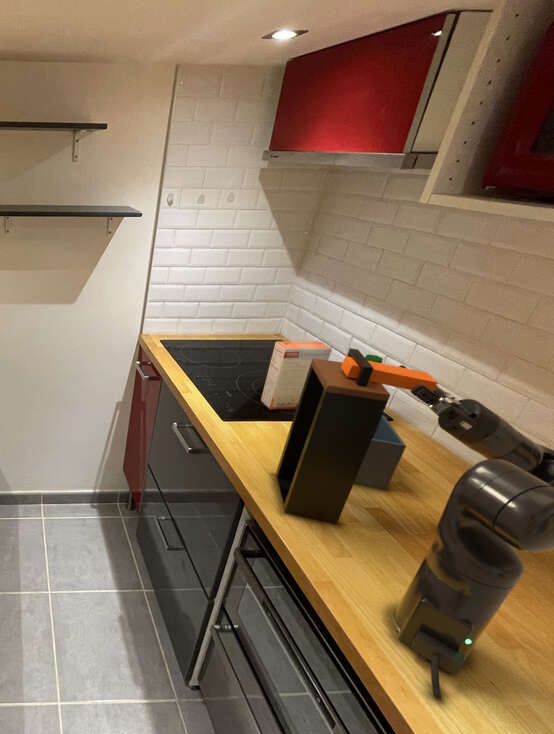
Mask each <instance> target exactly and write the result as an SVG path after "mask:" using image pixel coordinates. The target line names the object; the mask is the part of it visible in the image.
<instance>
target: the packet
mask: <svg viewBox="0 0 554 734" xmlns="http://www.w3.org/2000/svg"><path fill="white" fill-rule="evenodd" d="M342 362H343V363H342V365H341V369H342V370H343V372H344V373H345V374H346V376H347V377H351V378H356V379H357V377H358V375H359V372H360V369H361V368H360V367H359V366H358V365H357V363H356V362H355V361H354V359H353V358H352V357H348V356H347V355H345V357H344V359H343V361H342ZM368 362H369V363H370V364H371V366H372V367H373V371H372V374H371V376H370V379H369V381H370V382H375V383H380V384H382V385H383V386H384V385H385V386H389V387H394V388H399V389H404V390H409V391H411V389H413V388H414V387H416V386H417V385H419V384H422V385H424V386H425V387H427V388H428V389H429V390H431V391H432V392H433V390H434V388H435V387H436V385H437V386H438V383H439V382H438V381H437V380H436V379H434V377H432V375H431V374H430V373H428V372H425V371H421V370H416V369H413V368H412V369H411V368H408V367H406V368H402V367H399V366H396V365H391V364H386V363H383V362H382V363H377V362H372V361H368ZM407 368H408V369H407Z"/></svg>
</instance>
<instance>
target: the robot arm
mask: <svg viewBox="0 0 554 734" xmlns="http://www.w3.org/2000/svg"><path fill="white" fill-rule="evenodd" d="M398 367H402V368H407V369H409V368H408V367H406V366H405V365H403V364H400V365H399V366H398ZM410 393H411V394H412V395H413V396H415V397H416V399H417V398H418V399H419V400H420V401H422V402H423V403H424V404H426V405H427V406H428V408H429V410H431V411H432V412H433V413H434V414H435V415H436V416H437V417H438V418H437V424H438V426H439V428H440V429H441V430H443V431H444V432H446V433H447V434H448V435H450V436H451V437H453V438H454V439H455V440H458V441H459V442H460V443H462V444H463V445H464V446H466V447H467V448H468V449H470V450H472V451H474V452H476V453H477V454H479V455H481V456H483V457H484V458H485V459H483V460H481V461H478V462H476V463H475V464H473V465H472V466H470V467H468V468H467V470H465V471H464V472H463V474H462V475H461V476H460V477H459V479H457V481H456V483H455V484H454V486H453V488H452V490H451V492H450V495H449V496H448V499H447V501H446V504H445V506H444V508H443V511H442V513H441V516H440V518H439V519H438V522H437V523H436V527H435V534H436V535H435V538H434V540H433V542H432V544H431V546H430V547H429V549H428V551H427V553H426V555H425V556H424V558H423V560H422V562H421V564H420V565H419V567H418V569H417V571H416V572H415V574H414V576H413V578H412V580H411V581H410V583H409V585H408V587H407V589H406V591H405V592H404V594H403V596H402V598H401V600H400V602H399V604H398V606H397V607H396V608H395V610H394V611H393V613H392V617H391V619H392V620H391V621H392V624H393V626H394V628H395V630H396V632H397V633H398V636H397V639H398V640H399V641H401V642H402V643H404V644H406V645H407V646H408V647H410V649H411V650H413V651H415V652H416V653H417V654H419V655H421V656H422V657H424V658H426V659H427V660H429V661H431V663H430V679H431V687H432V695H433V697H434V698H437V699H441V698H442V693H441V685H440V668H441V669H443V670H444V671H446V672H448V673H450V674H451V675H453V676H455V677H456V676H457V675H458V673H459V672H460V670H461V669H462V667H463V666H464V662H465V661H466V659H467V658H468V656H469V653H470V652H471V651H472V649H473V648H474V646H475V645H476V643H477V642H478V640H479V638H480V637H481V635H482V634H483V633H484V632H485V630H486V628H487V627H488V626H489V624H490V622H491V621H492V620H493V618H494V617H495V615H496V614H497V613H498V611H499V610H500V608H501V607H502V605H503V604H504V602H505V601H506V600H507V598H508V597H509V596H510V594H511V592H512V591H513V590H514V588H515V587H516V585H517V584H518V583H519V581H520V579H521V578H522V576H523V575H524V572H525V566H524V561H523V560H522V558H521V557H520V555H519V554H518V552H517V551H516V550H515V549H517V550H519V551H521V552H526V553H541V552H545V551H546V552H547V551H551V550H553V549H554V449H552V448H550V447H547V446H545V445H543V444H540V443H537V442H534V441H533V440H532V439H530V438H529V437H527V436H526V435H524V434H523V433H521V432H520V431H519V430H517V429H516V428H515V427H514V426H513V425H512V424H511V423H509V422H508V421H507V420H506V419H504V418H503V417H502V416H499V415H498V414H497V413H495V412H494V411H492V410H491V409H489V408H488V407H487V406H486V405H484V404H482V403H481V402H479V401H478V400H476V399H472V398H463V399H459V400H457V399H456V397H455V396H454V395H453V394H451V393H450V392H448V391H445V390H444V389H443V388H441V387H440V386H439V385H438V384H437V385H436V387H435V388H434V390H433V392H432V391H431V390H429V389H428V388H427V387H425V386H424V385H422V384H419V385H417V386H416V387H414V388H413V389H411V390H410ZM514 548H515V549H514Z"/></svg>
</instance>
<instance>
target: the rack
mask: <svg viewBox="0 0 554 734" xmlns="http://www.w3.org/2000/svg"><path fill="white" fill-rule="evenodd" d="M346 356H348V357H352V358H353V359H354V361H355V362H356V363H357V365H358V366H359V367H360V368H361V369H360V372H359V375H358V377H357V379H356V378H351V377H347V376H346V374H345V373H344V372H343V370H342V369H341V365H342V363H343V361H335V360H329V359H328V360H322V359H314V358H313V359H312V362H311V365H310V368H309V371H308V374H307V377H306V381H305V384H304V387H303V390H302V393H301V396H300V399H299V402H298V406H297V409H295V412H294V415H293V418H292V421H291V424H290V428H289V432H288V434H287V436H286V437H287V438H286V441H285V444H284V447H283V449H282V452H281V456H280V459H279V462H278V465H277V469H276V471H275V475H274V477H275V481H276V485H277V489H278V493H279V496H280V501H281V505H282V509H283V512H284V513H285V514H288V515H292V516H293V515H294V516H298V517H300V518H301V517H302V518H307V519H310V520H315V521H318V522H323V523H327V524H332V525H338V522H339V521H340V517H341V515H342V513H343V511H344V508H345V505H346V503H347V501H348V498H349V495H350V494H351V491H352V489H353V486H354V484H355V483H354V481H355V479H356V477H357V474H358V472H359V469H360V467H361V465H362V462H363V460H364V457H365V455H366V453H367V450H368V448H369V445H370V443H371V441H372V438H373V436H374V433H375V431H376V429H377V426H378V424H379V421H380V419H381V416H383V414H384V411H385V409H386V406H387V404H388V402H389V400H390V397H391V393H390V392H389V391H388V390H387V388H386V387H385V386H384V384H380V383H375V382H370V381H369V379H370V376H371V374H372V371H373V367H372V366H371V364H370V363H369V362H368V361H367V360H366V358H365V357H366V356H364V355H363V354H362V353H361V351H360V350H359V349H358V348H349V349H348V351H347V354H346Z"/></svg>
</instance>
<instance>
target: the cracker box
mask: <svg viewBox="0 0 554 734" xmlns="http://www.w3.org/2000/svg"><path fill="white" fill-rule="evenodd" d="M332 350H333V348H332V347H331V346H329V345H328V344H326V343H324V342H323V341H320V340H317V341H314V340H312V341H309V340H308V341H307V340H306V341H305V340H304V341H303V340H302V341H275V343H274V347H273V351H272V355H271V359H270V362H269V367H268V371H267V374H266V378H265V383H264V385H263V386H264V387H263V390H262V393H261V396H260V397H261V398H260V401H261V403H262V404H263V405H264V406H266V407H267V409H268V410H296V409H297V406H298V402H299V399H300V396H301V393H302V390H303V387H304V384H305V381H306V377H307V374H308V371H309V368H310V365H311V362H312V359H313V358H314V359H322V360H329V359H330V356H331V353H332Z"/></svg>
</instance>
